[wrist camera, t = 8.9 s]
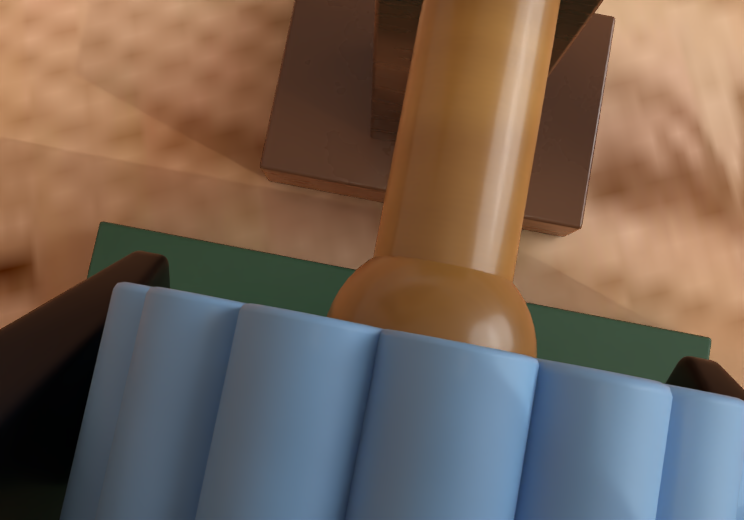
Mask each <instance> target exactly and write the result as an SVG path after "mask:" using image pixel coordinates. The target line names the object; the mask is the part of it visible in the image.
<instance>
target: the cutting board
mask: <svg viewBox="0 0 744 520" xmlns="http://www.w3.org/2000/svg"><path fill="white" fill-rule="evenodd" d="M135 251H145V252H150V253H155V254H161V255H164V256H165V257H166V258H167V260H168V263H169V275H170V289H175V290H181V291H186V292H191V293H197V294H202V295H207V296H212V297H217V298H223V299H228V300H233V301H238V302H243V303H248V304H249V303H252V304H259V305H265V306H271V307H276V308H282V309H287V310H293V311H298V312H304V313H309V314H314V315H319V316H324V317H327V314H328V312H329V309H330V307H331V304H332V302H333V300H334V298H335V297H336V295H337V293H338V291H339V290H340V288H341V287H342V286H343V284H344V283H345V282H346V281H347V279H348V278H349V277H350V276H351V275H352V274H353V273H354V272H355V271H356V270H354V269H349V268H344V267H338V266H333V265H328V264H323V263H318V262H312V261H307V260H302V259H297V258H291V257H286V256H281V255H276V254H271V253H265V252H260V251H255V250H250V249H244V248H239V247H234V246H229V245H224V244H218V243H213V242H208V241H203V240H197V239H192V238H187V237H182V236H177V235H171V234H166V233H161V232H156V231H150V230H145V229H140V228H135V227H130V226H124V225H119V224H114V223H109V222H101V223H100V225H99V229H98V233H97V237H96V242H95V246H94V250H93V254H92V259H91V263H90V267H89V271H88V276H87V279H88V278H89V277H91V276H93V275H95V274H96V273H98V272H100V271H101V270H103V269H105V268H107V267H108V266H110V265H112V264H114V263H115V262H117V261H119V260H120V259H122V258H124V257H126V256H127V255H129V254H131V253H133V252H135ZM525 303H526V302H525ZM526 305H527V307H528V309H529V312H530V314H531V317H532V321H533V324H534V327H535V333H536V340H537V358H538V359H544V360H550V361H556V362H561V363H567V364H572V365H578V366H583V367H589V368H594V369H599V370H605V371H610V372H615V373H620V374H625V375H630V376H635V377H640V378H645V379H650V380H655V381H659V382H661V383H664V384H665V383H666V381H667V380H668V378H669V376H670V375H671V373H672V371H673V370H674V368H675V366H676V365H677V363H678V362H679V361H680V360H681V359H682V358H683V357H687V356H691V357H697V358H702V359H707V360H709V355H710V347H711V339H710V338H709V337H704V336H699V335H693V334H688V333H683V332H678V331H672V330H667V329H662V328H657V327H652V326H646V325H641V324H636V323H631V322H626V321H620V320H615V319H610V318H605V317H599V316H594V315H589V314H584V313H579V312H573V311H568V310H563V309H558V308H552V307H547V306H542V305H537V304H532V303H526Z"/></svg>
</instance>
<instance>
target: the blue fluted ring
mask: <svg viewBox="0 0 744 520" xmlns="http://www.w3.org/2000/svg"><path fill="white" fill-rule="evenodd" d="M59 520H744V401H743V400H741V399H740V398H736V397H731V396H726V395H721V394H716V393H711V392H706V391H701V390H696V389H690V388H685V387H680V386H674V385H669V384H664V383H661V382H659V381H655V380H650V379H645V378H640V377H635V376H630V375H625V374H620V373H615V372H610V371H605V370H599V369H594V368H589V367H583V366H578V365H572V364H567V363H561V362H556V361H550V360H544V359H538V358H534V357H531V356H527V355H523V354H518V353H513V352H509V351H504V350H499V349H494V348H489V347H484V346H479V345H473V344H468V343H463V342H458V341H452V340H447V339H442V338H436V337H431V336H425V335H420V334H414V333H408V332H403V331H396V330H390V329H382V328H378V327H373V326H369V325H364V324H359V323H354V322H349V321H345V320H340V319H334V318H329V317H324V316H319V315H314V314H309V313H304V312H298V311H293V310H287V309H282V308H276V307H271V306H265V305H259V304H252V303H249V304H248V303H243V302H238V301H233V300H228V299H223V298H217V297H212V296H207V295H202V294H197V293H191V292H186V291H181V290H175V289H169V288H164V287H151V286H146V285H140V284H135V283H129V282H120V283H117V284H116V285H115V287H114V288H113V291H112V295H111V300H110V304H109V308H108V313H107V317H106V321H105V326H104V330H103V334H102V338H101V343H100V347H99V351H98V356H97V360H96V364H95V368H94V373H93V377H92V381H91V386H90V390H89V394H88V399H87V403H86V407H85V411H84V416H83V420H82V424H81V429H80V433H79V437H78V442H77V446H76V450H75V454H74V459H73V463H72V467H71V472H70V476H69V480H68V484H67V489H66V493H65V497H64V502H63V506H62V510H61V515H60V519H59Z"/></svg>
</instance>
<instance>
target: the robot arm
mask: <svg viewBox="0 0 744 520" xmlns="http://www.w3.org/2000/svg"><path fill="white" fill-rule="evenodd" d="M120 282H129V283H135V284H140V285H146V286H151V287H164V288H169V289H170V275H169V263H168V260H167V258H166V257H165V256H164V255H161V254H155V253H150V252H145V251H135V252H133V253H131V254H129V255H127V256H126V257H124V258H122V259H120V260H119V261H117V262H115V263H114V264H112V265H110V266H108V267H107V268H105V269H103V270H101V271H100V272H98V273H96V274H95V275H93V276H91V277H89V278H88V279H86V280H84V281H83V282H81V283H79V284H77V285H76V286H74V287H72V288H71V289H69V290H67V291H65V292H64V293H62V294H60V295H59V296H57V297H55V298H53V299H52V300H50V301H48V302H47V303H45V304H43V305H41V306H40V307H38V308H36V309H35V310H33V311H31V312H29V313H28V314H26V315H24V316H22V317H21V318H19V319H17V320H16V321H14V322H12V323H10V324H9V325H7V326H5V327H4V328H2V329H0V520H59V519H60V515H61V510H62V506H63V502H64V497H65V493H66V489H67V484H68V480H69V476H70V472H71V467H72V463H73V459H74V454H75V450H76V446H77V442H78V437H79V433H80V429H81V424H82V420H83V416H84V411H85V407H86V403H87V399H88V394H89V390H90V386H91V381H92V377H93V373H94V368H95V364H96V360H97V356H98V351H99V347H100V343H101V338H102V334H103V330H104V326H105V321H106V317H107V313H108V308H109V304H110V300H111V295H112V291H113V288H114V287H115V285H116V284H117V283H120ZM665 384H669V385H674V386H680V387H685V388H690V389H696V390H701V391H706V392H711V393H716V394H721V395H726V396H731V397H736V398H740V399H741V400H743V401H744V389H743V388H742V387H741V386H740V385H739V384H738V383H737V382H736V381H735V380H734V379H733V378H732V377H731V376H730V375H729V374H728V373H727V372H726V371H725V370H724V369H723V368H722V367H721V366H720V365H719V364H718V363H716V362H715V361H712V360H707V359H702V358H697V357H691V356H687V357H683V358H682V359H681V360H680V361H679V362H678V363H677V365H676V366H675V368H674V370H673V371H672V373H671V375H670V376H669V378H668V380H667V381H666V383H665Z"/></svg>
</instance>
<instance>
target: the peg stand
mask: <svg viewBox="0 0 744 520" xmlns="http://www.w3.org/2000/svg"><path fill="white" fill-rule="evenodd" d="M602 2H603V0H295V3H294V7H293V12H292V17H291V21H290V26H289V31H288V36H287V40H286V45H285V50H284V54H283V59H282V64H281V69H280V73H279V78H278V83H277V87H276V92H275V97H274V102H273V106H272V111H271V116H270V120H269V125H268V130H267V135H266V139H265V144H264V149H263V153H262V158H261V163H260V168H261V169H262V171H263V172H264V174H265V176H266V177H267V179H268V180H269V181H274V182H279V183H284V184H289V185H294V186H300V187H305V188H310V189H315V190H321V191H326V192H331V193H336V194H342V195H347V196H352V197H357V198H363V199H368V200H373V201H378V202H384V204H383V209H382V214H381V220H380V225H379V230H378V235H377V240H376V246H375V251H374V256H373V258H372V259H370V260H368V261H367V262H366V263H365V264H363V265H362V266H361V267H359V268H358V269H357V270H356V271H355V272H354V273H353V274H352V275H351V276H350V277H349V278H348V279H347V281H346V282H345V283H344V284H343V286H342V287H341V288H340V290H339V291H338V293H337V295H336V297H335V298H334V300H333V302H332V304H331V307H330V309H329V312H328V314H327V317H329V318H334V319H340V320H345V321H349V322H354V323H359V324H364V325H369V326H373V327H378V328H382V329H390V330H396V331H403V332H408V333H414V334H420V335H425V336H431V337H436V338H442V339H447V340H452V341H458V342H463V343H468V344H473V345H479V346H484V347H489V348H494V349H499V350H504V351H509V352H513V353H518V354H523V355H527V356H531V357H534V358H537V340H536V333H535V327H534V324H533V321H532V317H531V314H530V312H529V309H528V307H527V305H526V303H525V301H524V299H523V297H522V296H521V294H520V292H519V291H518V289H517V288H516V287H515V285H514V284H513V277H514V271H515V265H516V259H517V253H518V247H519V241H520V236H521V230H522V229H525V230H530V231H536V232H541V233H546V234H551V235H557V236H562V237H564V236H566V235H569V234H571V233H573V232H575V231H577V230H579V229H581V227H582V223H583V217H584V211H585V204H586V198H587V192H588V186H589V180H590V173H591V167H592V161H593V155H594V149H595V142H596V136H597V130H598V124H599V118H600V111H601V105H602V99H603V93H604V87H605V80H606V74H607V68H608V62H609V56H610V49H611V43H612V37H613V31H614V25H615V18H614V17H612V16H607V15H601V14H596V13H595V11H596V10H597V9H598V7H599V6H600V4H601V3H602Z"/></svg>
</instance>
